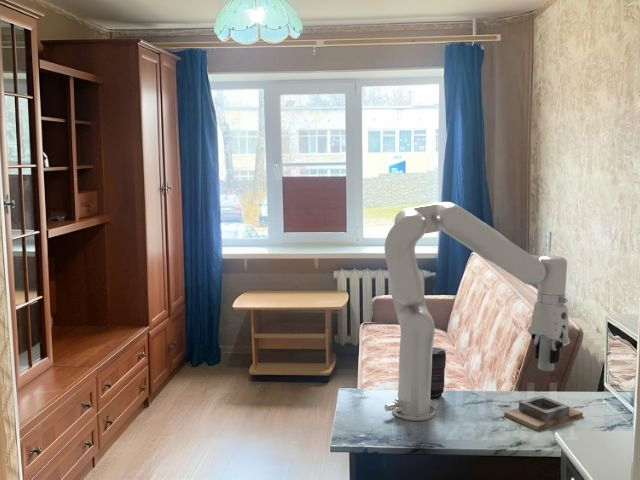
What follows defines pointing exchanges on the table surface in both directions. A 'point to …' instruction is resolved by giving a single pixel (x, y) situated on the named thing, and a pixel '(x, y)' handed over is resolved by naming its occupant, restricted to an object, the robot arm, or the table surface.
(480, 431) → the table surface
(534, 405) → the socket board
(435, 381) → the camera lens
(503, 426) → the table surface
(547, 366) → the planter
